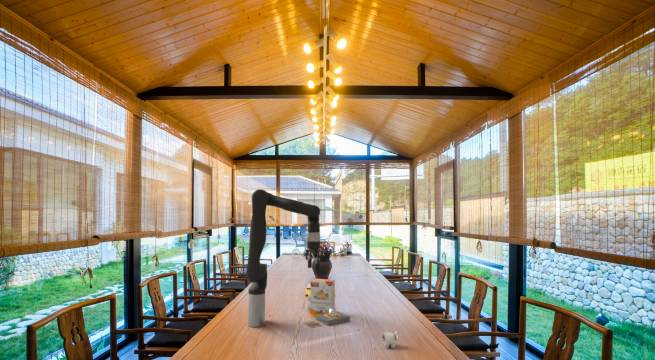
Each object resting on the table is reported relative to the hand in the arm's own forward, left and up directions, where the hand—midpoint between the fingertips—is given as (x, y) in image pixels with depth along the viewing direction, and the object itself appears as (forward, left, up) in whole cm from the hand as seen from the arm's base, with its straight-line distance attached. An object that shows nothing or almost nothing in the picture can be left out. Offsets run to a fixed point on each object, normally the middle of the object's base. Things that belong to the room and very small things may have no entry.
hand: (313, 268), depth 211 cm
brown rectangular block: (+6, -4, -30) cm, 31 cm away
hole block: (+6, +9, -30) cm, 32 cm away
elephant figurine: (+49, +12, -30) cm, 59 cm away
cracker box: (-11, +13, -30) cm, 35 cm away
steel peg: (+6, +9, -30) cm, 32 cm away
